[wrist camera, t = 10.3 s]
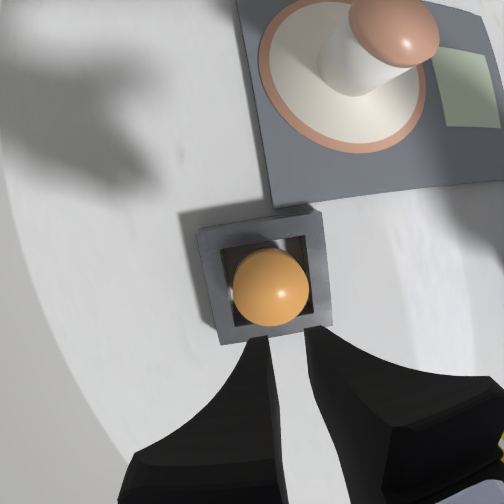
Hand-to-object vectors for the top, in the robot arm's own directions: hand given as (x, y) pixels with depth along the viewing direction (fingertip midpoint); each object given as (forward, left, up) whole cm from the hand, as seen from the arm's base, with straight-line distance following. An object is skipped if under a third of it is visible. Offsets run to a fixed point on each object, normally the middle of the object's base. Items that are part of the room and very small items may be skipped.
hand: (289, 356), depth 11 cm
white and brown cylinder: (-7, -12, -9) cm, 16 cm away
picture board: (-11, -11, -9) cm, 18 cm away
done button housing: (0, 0, -9) cm, 9 cm away
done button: (0, 0, -8) cm, 8 cm away
